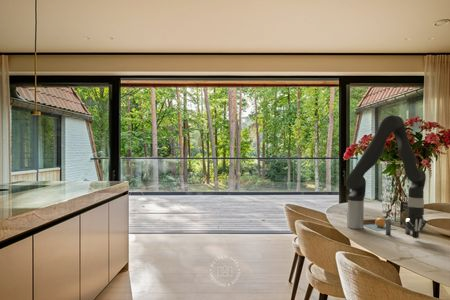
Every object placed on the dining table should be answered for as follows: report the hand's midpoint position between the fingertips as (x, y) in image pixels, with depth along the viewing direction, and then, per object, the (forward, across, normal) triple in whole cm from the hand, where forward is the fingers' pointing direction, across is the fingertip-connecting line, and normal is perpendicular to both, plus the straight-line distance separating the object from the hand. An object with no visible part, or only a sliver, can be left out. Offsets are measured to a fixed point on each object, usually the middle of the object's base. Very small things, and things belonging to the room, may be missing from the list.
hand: (415, 237), depth 176 cm
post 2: (+2, -6, -13) cm, 15 cm away
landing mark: (+2, 0, -30) cm, 30 cm away
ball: (-2, -1, -30) cm, 30 cm away
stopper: (+2, 0, -41) cm, 41 cm away
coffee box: (+2, -19, -26) cm, 32 cm away
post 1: (+2, +6, -13) cm, 15 cm away
